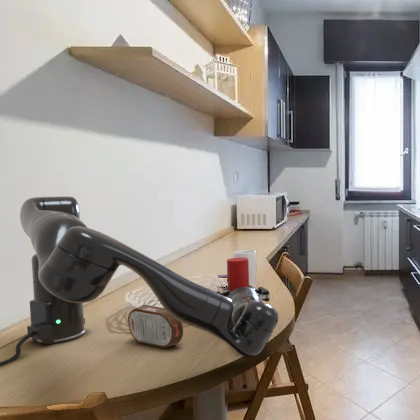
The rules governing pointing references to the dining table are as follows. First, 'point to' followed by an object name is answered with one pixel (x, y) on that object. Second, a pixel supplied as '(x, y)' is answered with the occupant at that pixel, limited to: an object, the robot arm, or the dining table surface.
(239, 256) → the drinking glass
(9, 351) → the dining table surface
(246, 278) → the squeeze bottle
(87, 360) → the dining table surface
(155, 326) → the tin
